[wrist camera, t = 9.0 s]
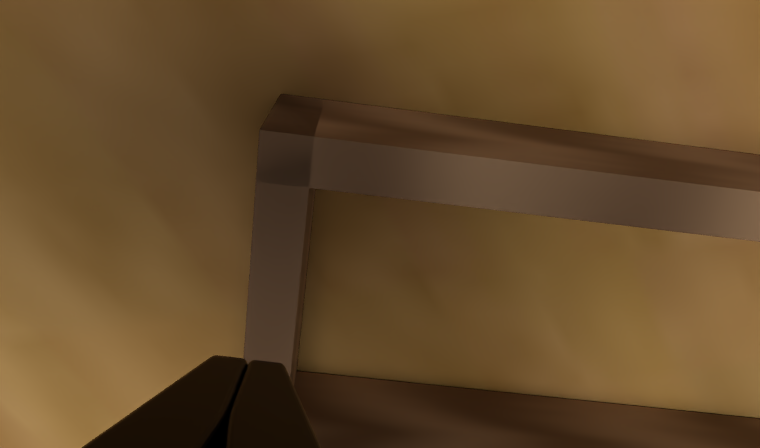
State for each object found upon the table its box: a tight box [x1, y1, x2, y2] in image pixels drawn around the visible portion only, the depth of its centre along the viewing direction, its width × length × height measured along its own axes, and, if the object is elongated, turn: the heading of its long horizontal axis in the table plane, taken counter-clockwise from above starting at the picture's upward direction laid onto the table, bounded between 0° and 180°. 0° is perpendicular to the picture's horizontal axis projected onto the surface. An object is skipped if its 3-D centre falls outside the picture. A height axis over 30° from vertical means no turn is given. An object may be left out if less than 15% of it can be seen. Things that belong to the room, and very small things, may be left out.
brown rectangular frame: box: [244, 94, 760, 448], centre depth 20 cm, size 18×10×4 cm, turn 83°
